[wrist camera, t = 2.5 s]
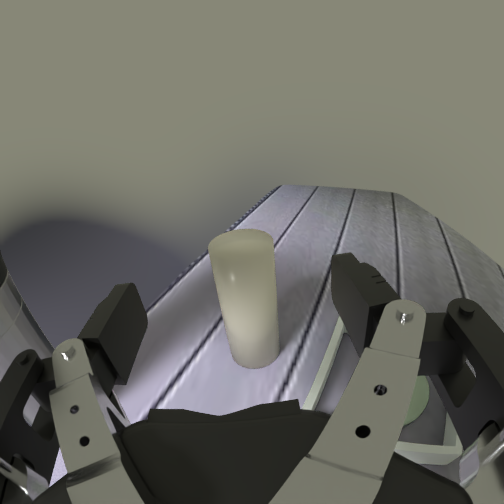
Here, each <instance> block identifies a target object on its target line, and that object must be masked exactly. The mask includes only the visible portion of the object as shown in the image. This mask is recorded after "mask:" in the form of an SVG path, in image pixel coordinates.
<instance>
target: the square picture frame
mask: <svg viewBox="0 0 504 504" xmlns="http://www.w3.org/2000/svg"><path fill="white" fill-rule="evenodd" d="M343 333H348V332H347V330H346V328H345V326H344V324H343V322H342V319H341V317H340V315H339V318H338V321H337V324H336V326H335V329H334V332H333V335H332V337H331V340H330V343H329V345H328V348H327V350H326V353H325V356H324V358H323V361H322V363H321V366H320V368H319V371H318V373H317V375H316V378H315V380H314V383H313V385H312V387H311V389H310V392H309V394H308V396H307V399H306V401H305V403H304V405H303V407H302V409H306V410H315V408H316V406H317V403H318V401H319V398H320V396H321V394H322V391H323V389H324V386H325V383H326V381H327V378H328V376H329V373H330V370H331V368H332V365H333V362H334V359H335V356H336V354H337V351H338V348H339V345H340V342H341V339H342V336H343ZM462 448H463V446H462V444H461V441H460V439H459V437H458V434H457V432H456V430H455V428H454V425H453V423H452V421H451V419H450V417H449V414H448V412H447V414H446V424H445V433H444V441H443V446H439V445H426V444H416V443H408V442H400V441H397V444H396V447H395V449H394V451H395V452H396V453H398V454H400V455H402V456H404V457H405V458H407V459H409V460H411V461H413V462H415V463H418V464H432V465H447V464H449V463H450V462H452V461H453V460H455V459H456V458H458V457H459V456H460V455H462Z"/></svg>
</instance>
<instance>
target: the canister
mask: <svg viewBox="0 0 504 504" xmlns="http://www.w3.org/2000/svg"><path fill="white" fill-rule="evenodd" d="M208 250H209V255H210V260H211V265H212V270H213V275H214V280H215V284H216V289H217V294H218V298H219V303H220V307H221V312H222V316H223V321H224V325H225V329H226V334H227V338H228V342H229V346H230V350H231V355H232V358H233V359H234V361H235V362H236V363H237V364H238V365H240V366H242V367H245V368H249V369H258V368H263V367H266V366H268V365H270V364H271V363H272V362H274V361H275V359H276V358H277V357H278V354H279V350H280V349H279V328H278V309H277V292H276V275H275V260H274V245H273V238H272V237H271V236H270V235H269V234H268V233H266V232H264V231H261V230H256V229H239V230H233V231H229V232H226V233H223V234H221V235H219V236H218V237H216V238H214V239H213V240H212V241H211V242H210V244H209V246H208Z"/></svg>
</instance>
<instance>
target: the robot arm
mask: <svg viewBox="0 0 504 504" xmlns="http://www.w3.org/2000/svg"><path fill="white" fill-rule="evenodd" d="M331 292H332V299H333V303H334V305H335V307H336V309H337V311H338V313H339V315H340V317H341V319H342V322H343V324H344V326H345V328H346V330H347V332H348V334H349V336H350V338H351V340H352V342H353V345H354V347H355V349H356V351H357V353H358V355H359V358H360V360H359V362H358V365H357V367H356V369H355V371H354V373H353V375H352V377H351V379H350V381H349V383H348V385H347V387H346V389H345V391H344V393H343V395H342V397H341V399H340V401H339V403H338V405H337V407H336V408H335V410H334V412H333V414H332V415H330V414H327V413H323V412H319V411H314V410H306V409H300V406H299V401H298V399H295V400H288V401H282V402H275V403H267V404H259V405H256V406H253V407H250V408H247V409H244V410H240V411H237V412H233V413H230V414H226V415H222V416H216V415H210V414H205V413H199V412H194V411H189V410H184V409H150V411H149V415H148V419H146V420H142V421H139V422H136V423H134V424H131V423H130V421H129V420H128V418H127V416H126V414H125V412H124V410H123V408H122V406H121V404H120V402H119V399H118V397H117V395H116V393H115V392H114V390H113V386H114V385H126V383H127V381H128V378H129V375H130V372H131V369H132V366H133V364H134V361H135V358H136V355H137V353H138V350H139V347H140V345H141V342H142V339H143V337H144V334H145V332H146V329H147V325H148V320H147V314H146V311H145V309H144V307H143V304H142V301H141V299H140V296H139V293H138V291H137V289H136V286H135V284H133V283H125V284H118V285H115V286H114V288H113V290H112V291H111V293H110V294H109V295H108V297H107V298H106V299H104V300H103V301H102V302H101V303H100V304H99V305H98V306H97V308H96V309H95V311H94V313H93V314H92V316H91V317H90V320H88V321H87V323H86V325H85V326H84V328H83V329H82V331H81V333H80V334H79V336H78V337H77V339H76V338H74V339H69V340H66V341H64V342H63V343H61V344H60V345H59V346H57V347H56V349H54V348H53V346H52V345H51V343H50V342H49V341H48V339H47V338H46V336H45V335H44V333H43V332H42V330H41V329H40V327H39V325H38V324H37V322H36V321H35V319H34V317H33V316H32V314H31V312H30V311H29V309H28V307H27V306H26V304H25V302H24V300H23V299H22V297H21V295H20V293H19V292H18V290H17V288H16V286H15V284H14V282H13V280H12V278H11V276H10V274H9V272H8V270H7V267H6V265H5V263H4V261H3V259H2V255H1V252H0V504H504V333H503V331H502V330H501V329H500V328H499V327H498V326H497V324H496V323H495V322H494V321H493V320H492V319H491V317H490V316H489V315H488V314H487V313H486V312H485V311H484V310H483V309H482V308H481V306H480V305H478V304H477V303H476V302H474V301H472V300H469V299H464V298H458V299H454V300H452V301H451V302H450V303H449V304H448V307H447V311H446V313H426V312H425V310H424V308H423V307H422V306H421V305H420V304H418V303H416V302H414V301H411V300H405V299H401V298H400V297H399V296H398V294H397V293H396V292H395V291H394V290H393V288H392V287H391V286H390V285H389V284H388V282H386V280H385V279H384V278H383V277H382V276H381V274H380V273H379V272H378V271H377V270H376V268H374V267H373V266H371V265H369V264H367V263H359V261H358V260H357V259H356V258H355V256H354V255H353V254H352V253H344V254H337V255H333V256H332V259H331ZM466 359H468V360H469V362H470V363H471V365H472V366H473V368H474V370H475V372H476V378H475V376H474V374H473V373H472V371H471V370H470V368H469V366H468V365H467V363H466V362H465V361H466ZM426 375H429V376H430V378H431V380H432V382H433V384H434V386H435V388H436V390H437V392H438V394H439V396H440V398H441V400H442V402H443V404H444V406H445V408H446V410H447V412H448V414H449V417H450V419H451V421H452V423H453V425H454V428H455V430H456V432H457V434H458V437H459V439H460V441H461V444H462V446H463V449H464V453H463V454H462V456H461V459H460V464H459V469H460V472H459V477H460V479H461V480H460V484H457V483H456V482H454V481H451V480H449V479H447V478H445V477H443V476H441V475H439V474H437V473H435V472H432V471H430V470H428V469H426V468H424V467H423V466H421V465H419V464H417V463H415V462H413V461H411V460H409V459H407V458H405V457H404V456H402V455H400V454H398V453H396V452H395V451H394V449H395V447H396V444H397V441H398V439H399V436H400V433H401V430H402V427H403V424H404V421H405V418H406V415H407V412H408V408H409V405H410V401H411V398H412V394H413V391H414V387H415V383H416V379H417V376H426ZM25 420H27V421H28V422H29V423H30V424H31V425H32V426H31V427H30V426H29V425H28V424H27V423H26V421H25ZM59 448H60V449H61V452H62V456H63V459H64V463H65V466H66V469H67V472H68V473H67V474H66V475H65V476H63V477H62V478H61V479H60V480H58V481H57V482H56V483H54V484H53V485H52V486H50V487H49V485H50V480H51V476H52V473H53V469H54V465H55V461H56V458H57V454H58V451H59Z"/></svg>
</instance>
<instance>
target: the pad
mask: <svg viewBox="0 0 504 504" xmlns="http://www.w3.org/2000/svg"><path fill="white" fill-rule="evenodd" d="M428 399H429V385H428V381H427V379H426V377H425V376H417V379H416V383H415V387H414V391H413V394H412V398H411V401H410V405H409V408H408V412H407V415H406V418H405V421H404V424H403V426H405V425H407V424H409V423H411V422H412V421H414V420H415V419H416V418H417V417H418V416H419V415H420V414H421V413H422V412H423V410H424V409H425V407H426V405H427V403H428Z"/></svg>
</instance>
